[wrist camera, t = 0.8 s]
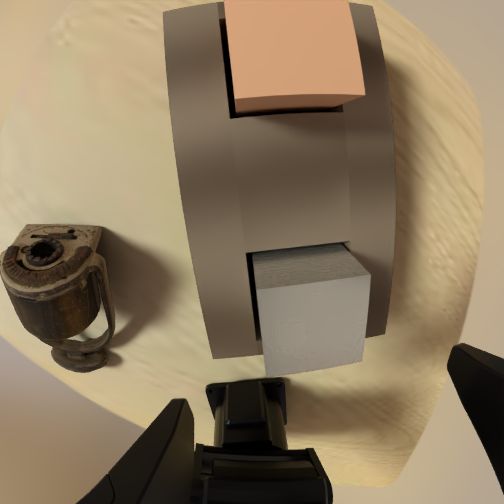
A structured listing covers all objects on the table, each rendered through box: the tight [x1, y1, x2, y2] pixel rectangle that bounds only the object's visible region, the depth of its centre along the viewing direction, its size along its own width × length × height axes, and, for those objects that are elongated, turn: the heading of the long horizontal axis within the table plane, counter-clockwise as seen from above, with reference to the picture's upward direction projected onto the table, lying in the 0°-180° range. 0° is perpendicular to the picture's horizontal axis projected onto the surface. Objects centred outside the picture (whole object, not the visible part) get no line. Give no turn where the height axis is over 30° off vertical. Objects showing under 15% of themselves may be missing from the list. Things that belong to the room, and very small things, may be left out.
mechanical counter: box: [0, 224, 115, 373], centre depth 16 cm, size 7×13×10 cm
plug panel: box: [163, 2, 396, 359], centre depth 15 cm, size 18×10×5 cm, turn 6°
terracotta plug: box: [224, 0, 365, 116], centre depth 10 cm, size 4×4×5 cm
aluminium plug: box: [252, 242, 371, 377], centre depth 14 cm, size 4×4×5 cm
